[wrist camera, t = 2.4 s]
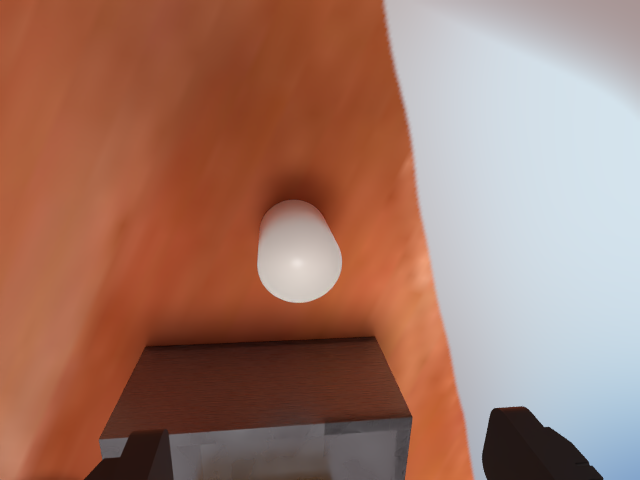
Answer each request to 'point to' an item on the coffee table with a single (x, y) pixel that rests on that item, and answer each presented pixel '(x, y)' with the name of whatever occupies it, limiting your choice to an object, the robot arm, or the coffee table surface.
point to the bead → (297, 252)
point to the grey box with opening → (269, 410)
